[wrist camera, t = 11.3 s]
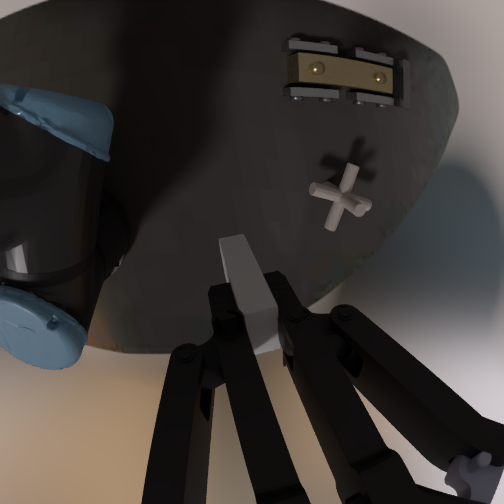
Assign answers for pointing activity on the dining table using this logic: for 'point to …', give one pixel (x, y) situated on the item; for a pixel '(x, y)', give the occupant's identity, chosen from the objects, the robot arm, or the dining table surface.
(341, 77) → the link
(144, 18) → the dining table surface
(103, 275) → the robot arm
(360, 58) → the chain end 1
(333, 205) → the pipe connector
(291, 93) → the chain end
